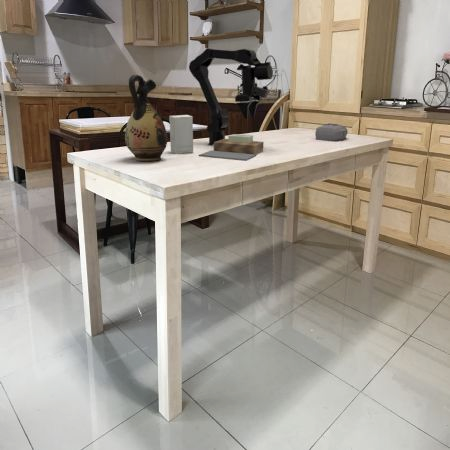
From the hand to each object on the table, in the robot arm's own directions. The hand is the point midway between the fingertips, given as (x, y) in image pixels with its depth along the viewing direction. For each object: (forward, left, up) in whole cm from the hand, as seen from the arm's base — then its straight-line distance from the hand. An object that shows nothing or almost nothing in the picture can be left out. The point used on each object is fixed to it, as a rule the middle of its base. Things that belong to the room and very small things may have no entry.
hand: (249, 118), depth 185 cm
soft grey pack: (+29, +53, -13) cm, 62 cm away
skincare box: (-21, -25, -13) cm, 35 cm away
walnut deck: (-1, -11, -13) cm, 17 cm away
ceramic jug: (-24, -46, -13) cm, 54 cm away
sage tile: (0, -9, -9) cm, 13 cm away
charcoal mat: (-1, -23, -13) cm, 27 cm away
